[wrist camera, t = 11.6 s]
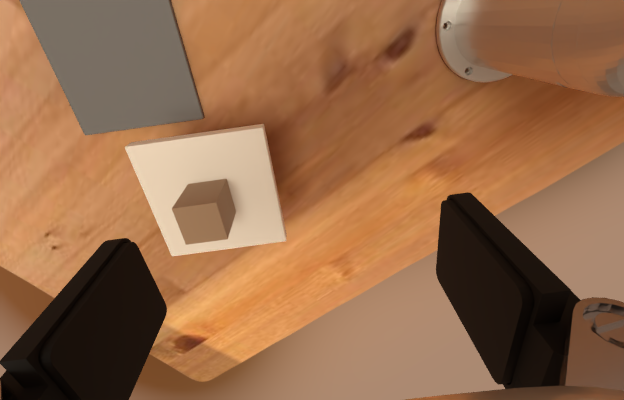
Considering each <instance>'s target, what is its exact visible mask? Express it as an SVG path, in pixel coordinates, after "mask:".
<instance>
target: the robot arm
mask: <svg viewBox="0 0 624 400" xmlns="http://www.w3.org/2000/svg"><path fill="white" fill-rule="evenodd" d="M444 23H445V24H446V27H445V28H444V29H443V24H444ZM436 37H437V44H438V48H439V52H440V54H441V56H442V58H443V60H444V62H445V64H446V65H447V66H448V67H449V68H450V70H451V71H453V72H454V73H455V74H457V75H458V76H460V77H462V78H465V79H467V80H471V81H474V82H485V83H486V82H493V81H498V80H501V79H504V78H507V77H509V76H511V75H517V76H521V77H525V78H529V79H534V80H538V81H542V82H546V83H550V84H554V85H559V86H563V87H567V88H571V89H576V90H580V91H584V92H589V93H593V94H598V95H604V96H611V97H624V0H442V2H441V5H440V9H439V12H438V16H437V25H436ZM466 68H467V71H466V72H465V69H466ZM436 274H437V278H438V280H439V282H440V284H441V286H442V288H443V290H444V291H445V293H446V295H447V297H448V299H449V300H450V302H451V304H452V306H453V307H454V309H455V311H456V313H457V315H458V317H459V318H460V320H461V322H462V324H463V325H464V327H465V329H466V331H467V333H468V334H469V336H470V338H471V340H472V342H473V343H474V345H475V347H476V349H477V351H478V352H479V354H480V356H481V358H482V360H483V361H484V363H485V365H486V367H487V368H488V370H489V372H490V374H491V376H492V378H493V379H494V380H495V382H496V383H497V384H503V385H504V387H505V389H502V390H492V391H481V392H471V393H460V394H450V395H441V396H432V397H423V398H414V399H406V400H624V303H623V302H620V301H617V300H612V299H607V298H593V297H592V298H587V299H583V300H580V299H579V298H578V297H577V296H576V295H574V293H573V292H572V291H571V290H570V289H569V288H568V287H567V286H566V285H565V284H564V283H563V282H562V281H561V280H560V279H559V278H558V277H557V276H556V275H555V274H554V273H553V272H552V271H551V270H550V269H549V268H548V267H547V266H545V264H543V263H542V262H541V261H540V260H539V259H538V258H537V257H536V256H535V255H534V254H533V253H532V252H531V251H530V250H529V249H528V248H527V247H526V246H525V245H524V244H523V243H522V242H521V241H520V240H519V239H517V237H515V236H514V234H512V233H511V232H510V231H509V230H508V229H507V228H506V227H505V226H504V225H503V224H502V223H501V222H500V221H499V220H498V219H497V218H496V217H495V216H494V215H493V214H492V213H491V212H490V211H489V210H488V209H487V208H486V207H485V206H484V205H483V204H482V203H480V202H479V201H478V200H477V199H476V198H475V197H474V196H473V195H472V194H471V193H461V194H454V195H449V196H448V198H447V200H445V201H442V204H441V214H440V227H439V239H438V252H437V264H436ZM166 312H167V308H166V304H165V301H164V299H163V297H162V295H161V293H160V291H159V289H158V287H157V285H156V283H155V281H154V279H153V277H152V275H151V273H150V271H149V269H148V267H147V265H146V262H145V260H144V258H143V256H142V254H141V252H140V250H139V248H138V246H137V245H136V243H134V242H131V241H130V240H129V239H127V238H123V239H115V240H108V241H105V242H104V243H103V244H102V245H101V246H100V247H99V248H98V249H97V250H96V252H95V253H94V254H93V255H92V256H91V257H90V258H89V260H88V261H87V262H86V263H85V264H84V265H83V267H82V268H81V269H80V270H79V271H78V272H77V273H76V275H75V276H74V277H73V278H72V279H71V280H70V281H69V283H68V284H67V285H66V286H65V287H64V288H63V289H62V291H61V292H60V293H59V294H58V295H57V296H56V297H55V299H54V300H53V301H52V302H51V303H50V304H49V306H48V307H47V308H46V309H45V310H44V311H43V312H42V314H41V315H40V316H39V317H38V318H37V319H36V320H35V322H34V323H33V324H32V325H31V326H30V327H29V329H28V330H27V331H26V332H25V333H24V334H23V335H22V336H21V338H20V339H19V340H18V341H17V342H16V343H15V344H14V346H13V347H12V348H11V349H10V350H9V351H8V352H7V354H6V355H5V356H4V357H3V358H2V359H1V361H0V364H1V365H2V366H3V367H4V368H5V369H6V370H7V371H6V372H5V373H4V374H3V376H2V377H1V378H0V400H129V397H130V396H131V393H132V391H133V389H134V386H135V384H136V382H137V380H138V377H139V375H140V373H141V371H142V368H143V366H144V364H145V362H146V359H147V357H148V355H149V353H150V350H151V348H152V346H153V344H154V341H155V339H156V337H157V334H158V332H159V330H160V328H161V325H162V323H163V321H164V319H165V316H166Z"/></svg>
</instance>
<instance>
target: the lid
mask: <svg viewBox="0 0 624 400" xmlns="http://www.w3.org/2000/svg"><path fill="white" fill-rule="evenodd" d="M125 149H126V151H127V154H128V156H129V158H130V161H131V163H132V165H133V168H134V170H135V172H136V174H137V177H138V179H139V181H140V184H141V186H142V188H143V191H144V193H145V195H146V198H147V200H148V202H149V205H150V207H151V209H152V211H153V214H154V216H155V218H156V221H157V223H158V225H159V228H160V230H161V232H162V235H163V237H164V239H165V242H166V244H167V246H168V248H169V251H170V253H171V255H172V256H179V255H186V254H194V253H201V252H209V251H216V250H224V249H231V248H239V247H246V246H254V245H261V244H268V243H276V242H283V241H286V230H285V225H284V220H283V215H282V210H281V205H280V200H279V195H278V190H277V185H276V181H275V176H274V171H273V166H272V161H271V156H270V151H269V146H268V141H267V137H266V132H265V127H264V124H258V125H251V126H244V127H237V128H230V129H223V130H216V131H209V132H202V133H195V134H187V135H180V136H173V137H166V138H159V139H152V140H145V141H138V142H131V143H130V144H128V145H127V146H125Z"/></svg>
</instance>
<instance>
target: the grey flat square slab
mask: <svg viewBox="0 0 624 400" xmlns="http://www.w3.org/2000/svg"><path fill="white" fill-rule="evenodd" d="M20 2H21V4H22V7H23V9H24V11H25V13H26V15H27V17H28V19H29V21H30V23H31V25H32V27H33V29H34V31H35V33H36V35H37V37H38V39H39V42H40V44H41V46H42V48H43V50H44V52H45V54H46V56H47V58H48V60H49V62H50V64H51V66H52V68H53V70H54V72H55V75H56V77H57V79H58V81H59V83H60V85H61V87H62V89H63V91H64V93H65V95H66V97H67V99H68V101H69V103H70V105H71V107H72V110H73V112H74V114H75V116H76V118H77V120H78V122H79V124H80V126H81V128H82V130H83V132H84V134H85V135H91V134H98V133H105V132H112V131H119V130H126V129H134V128H141V127H148V126H155V125H162V124H169V123H176V122H183V121H191V120H198V119H203V118H204V114H203V110H202V107H201V104H200V100H199V97H198V93H197V90H196V86H195V83H194V79H193V76H192V73H191V69H190V66H189V62H188V59H187V55H186V52H185V49H184V45H183V42H182V38H181V35H180V31H179V28H178V24H177V21H176V18H175V14H174V11H173V7H172V4H171V0H20Z"/></svg>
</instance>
